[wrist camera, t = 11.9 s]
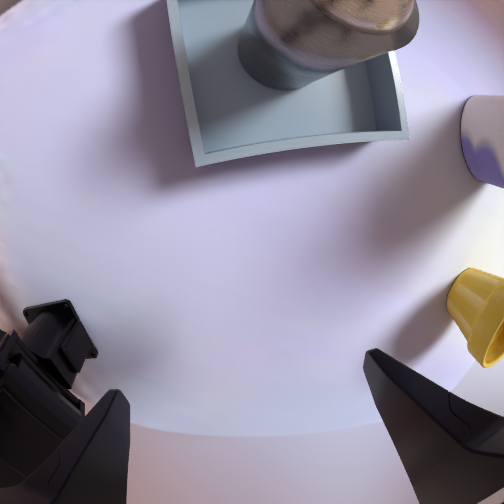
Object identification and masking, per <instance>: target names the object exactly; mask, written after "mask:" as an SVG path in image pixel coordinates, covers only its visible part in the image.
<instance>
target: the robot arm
mask: <svg viewBox="0 0 504 504" xmlns="http://www.w3.org/2000/svg"><path fill="white" fill-rule="evenodd" d="M65 304H66V305H67V306H68V307H67V306H66V305H65ZM23 314H24V316H25V318H26V320H27V322H28V323H29V326H28V327H27V329H26V330H25V332H24V333H23V334H22V336H21V337H20V338H19V336H18V334H17V332H16V331H15V330H14V329H13V330H12V331H11V332H9V333H7V332H4V331H2V330H0V504H126V496H127V474H128V461H129V449H130V404H129V402H128V400H127V399H126V397H125V396H124V395H123V393H122V392H121V391H120V390H119V389H110V390H109V391H108V392H107V393H106V394H105V395H104V396H103V397H102V398H101V399H100V400H99V401H98V403H97V404H96V405H95V406H94V407H93V408H92V409H91V410H90V412H89V413H88V414H87V415H86V416H85V403H84V402H82V401H81V400H80V399H78V398H77V397H75V396H74V395H73V394H72V393H71V392H70V391H69V390H68V389H71V388H72V385H73V383H74V380H75V378H76V375H77V373H80V371H81V368H82V366H83V364H84V361H85V359H91V358H96V357H97V355H98V351H97V349H96V348H95V346H94V344H93V343H92V341H91V339H90V337H89V335H88V334H87V332H86V330H85V328H84V326H83V324H82V323H81V321H80V319H79V317H78V315H77V313H76V311H75V309H74V307H73V305H72V303H71V302H70V301H69V300H66V299H65V300H60V301H55V302H51V303H46V304H41V305H36V306H32V307H27V308H25V309H24V310H23ZM363 370H364V373H365V376H366V379H367V382H368V385H369V387H370V390H371V393H372V396H373V399H374V402H375V405H376V407H377V409H378V411H379V413H380V416H381V418H382V420H383V422H384V424H385V426H386V428H387V430H388V432H389V435H390V437H391V439H392V441H393V443H394V445H395V448H396V450H397V452H398V454H399V456H400V459H401V461H402V463H403V465H404V468H405V470H406V472H407V474H408V477H409V479H410V482H411V484H412V486H413V488H414V491H415V494H416V496H417V498H418V501H419V503H420V504H504V417H502V416H500V415H497V414H495V413H492V412H490V411H488V410H485V409H483V408H480V407H478V406H476V405H474V404H472V403H469V402H467V401H465V400H464V399H462V398H460V397H458V396H456V395H454V394H453V393H451V392H448V390H446V389H444V388H443V387H441V386H439V385H438V384H436V383H434V382H432V381H431V380H429V379H427V378H426V377H424V376H422V375H421V374H419V373H417V372H416V371H414V370H412V369H411V368H409V367H407V366H406V365H404V364H402V363H401V362H399V361H397V360H396V359H394V358H393V357H391V356H389V355H388V354H386V353H384V352H383V351H381V350H379V349H377V348H374V349H371V350H368V351H367V352H366V354H365V359H364V364H363Z"/></svg>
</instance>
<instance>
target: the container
mask: <svg viewBox="0 0 504 504" xmlns="http://www.w3.org/2000/svg"><path fill="white" fill-rule="evenodd" d="M461 141H462V148H463V153H464V156H465V160H466V163H467V165H468V167H469V169H470V171H471V173H472V174H473V176H474V177H475V178H476V179H478V180H479V181H482V182H485V183H489V184H492V185H495V186H498V187H501V188H504V96H499V95H474V96H472V97H471V98H469V100H468V101H467V102H466V104H465V107H464V110H463V113H462V119H461Z"/></svg>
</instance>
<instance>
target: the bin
mask: <svg viewBox="0 0 504 504" xmlns="http://www.w3.org/2000/svg"><path fill="white" fill-rule="evenodd" d="M253 2H254V0H167V8H168V15H169V22H170V29H171V35H172V42H173V48H174V54H175V60H176V66H177V72H178V78H179V84H180V89H181V95H182V100H183V106H184V111H185V116H186V122H187V127H188V132H189V137H190V142H191V147H192V152H193V157H194V161H195V166H196V167H200V166H204V165H209V164H213V163H218V162H223V161H228V160H233V159H238V158H243V157H249V156H254V155H260V154H266V153H272V152H279V151H285V150H292V149H299V148H307V147H315V146H324V145H333V144H343V143H354V142H368V141H384V140H409V134H408V125H407V117H406V109H405V103H404V96H403V90H402V85H401V79H400V74H399V69H398V65H397V60H396V56H395V52H394V51H391V52H388V53H385V54H382V55H379V56H376V57H373V58H370V59H368V60H365V61H362V62H360V63H357V64H355V65H352V66H350V67H347V68H345V69H342V70H340V71H337V72H335V73H333V74H330V75H328V76H326V77H324V78H321V79H319V80H317V81H315V82H313V83H310V84H308V85H306V86H304V87H301V88H299V89H294V90H277V89H273V88H269V87H266V86H264V85H262V84H260V83H259V82H257V81H255V80H254V79H253V78H252V77H251V76H250V75H249V74H248V73H247V72H246V71H245V69H244V68H243V66H242V65H241V62H240V60H239V56H238V42H239V38H240V36H241V33H242V30H243V27H244V25H245V22H246V20H247V17H248V14H249V12H250V9H251V7H252V4H253Z"/></svg>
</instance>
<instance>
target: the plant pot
mask: <svg viewBox="0 0 504 504" xmlns="http://www.w3.org/2000/svg"><path fill="white" fill-rule="evenodd" d="M447 310H448V312H449V313H450V315H451V316H452V318H453V319H454V321H455V322H456V324H457V325H458V327H459V328H460V330H461V332H462V333H463V335H464V337H465V338H466V340H467V342H468V343H467V347H468V351H469V352H470V353H471V355H472V356H473V357H474V358H475V359H476V360H477V361H478V362H479V363H480V364H481V366H482V367H484V368H488V367H490V366H493V365H494V364H495V363H497V362H498V361H499V360H500V359H501V358H502V357H503V356H504V278H502V277H499V276H496V275H492V274H489V273H486V272H483V271H481V270H478V269H475V268H469V269H467V270H465V271H463V272H462V273H461V274H460V275H459V276H458V278H457V279H456V280H455V282H454V283H453V285H452V287H451V289H450V291H449V294H448V297H447Z"/></svg>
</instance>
